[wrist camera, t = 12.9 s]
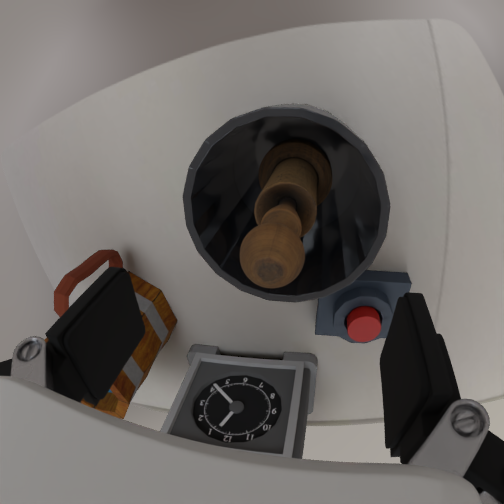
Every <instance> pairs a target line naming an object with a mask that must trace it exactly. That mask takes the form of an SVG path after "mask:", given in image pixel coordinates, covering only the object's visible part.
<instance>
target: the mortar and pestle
mask: <svg viewBox="0 0 504 504" xmlns="http://www.w3.org/2000/svg"><path fill="white" fill-rule="evenodd" d="M259 183H260V187H261V189H262V191H261V193H260V195H259V196H258V198H257V201H256V203H255V209H254V214H255V219H256V222H257V224H258V226H256V227H255V228H253V229H252V230H251V231H250V232H249V233H248V234H247V235H246V236H245V238H244V240H243V242H242V244H241V247H240V263H241V267H242V269H243V271H244V273H245V274H246V276H247V277H248V278H249V279H250V280H251V281H252V282H253V283H255V284H257V285H259V286H261V287H265V288H279V287H283V286H285V285H287V284H289V283H291V282H292V281H293V280H294V279H295V278H296V277H297V276H298V275H299V273H300V272H301V270H302V268H303V265H304V260H305V251H304V246H303V244H302V241H301V239H300V238H301V237H303V236H304V235H306V234H307V233H308V232H309V231H310V230H311V228H312V227H313V225H314V223H315V220H316V214H317V206H318V205H319V204H320V203H322V202H323V201H324V199H325V198H326V197H327V195H328V194H329V192H330V189H331V186H332V169H331V165H330V162H329V160H328V158H327V156H326V155H325V154H324V152H323V151H322V150H321V149H320V148H318V147H317V146H316V145H314V144H312V143H310V142H308V141H304V140H299V139H290V140H286V141H283V142H280V143H278V144H277V145H275V146H274V147H272V148H271V149H270V150H269V151H268V153H267V154H266V155H265V157H264V158H263V160H262V162H261V164H260V168H259Z"/></svg>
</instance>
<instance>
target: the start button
mask: <svg viewBox="0 0 504 504" xmlns="http://www.w3.org/2000/svg"><path fill="white" fill-rule="evenodd" d="M380 331H381V323H380V318H379V314H378V312H377V311H376V310H375V309H374V308H372V307H369V306H361V307H358V308H355V309H354V310H352V311H351V312H350V313H349V315H348V317H347V332H348V335H349V337H350V338H351V339H353V340H355V341H358V342H367V341H370V340H373V339H374V338H376V337H377V336H378V335H379V333H380Z"/></svg>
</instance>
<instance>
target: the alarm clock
mask: <svg viewBox="0 0 504 504" xmlns="http://www.w3.org/2000/svg"><path fill="white" fill-rule="evenodd" d="M187 358H188V361H189V364H190V367H189V370H188V372H187V374H186V376H185V378H184V380H183V382H182V385H181V387H180V389H179V391H178V393H177V395H176V398H175V400H174V402H173V404H172V406H171V409H170V411H169V413H168V415H167V417H166V420H165V422H164V424H163V426H162V428H161V430H160V432H163V433H167V434H170V435H174V436H178V437H181V438H185V439H189V440H193V441H197V442H201V443H206V444H210V445H215V446H219V447H224V448H229V449H235V450H240V451H246V452H251V453H258V454H264V455H271V456H279V457H287V458H297V459H302V455H303V448H304V440H305V432H306V423H307V415H308V414H310V413H312V412H313V404H314V394H315V383H316V371H317V358H316V356H315V355H313V354H311V353H293V352H284V358H283V360H269V359H256V358H244V357H234V356H224V355H220V353H219V348H218V347H215V346H206V345H197V344H195V345H192V347H191V348H190V350H189V352H188V355H187Z"/></svg>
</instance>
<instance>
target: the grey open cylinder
mask: <svg viewBox="0 0 504 504" xmlns="http://www.w3.org/2000/svg"><path fill="white" fill-rule="evenodd" d="M290 139H299V140H304V141H308V142H310V143H312V144H314V145H316V146H317V147H318V148H320V149H321V150H322V151H323V152H324V154H325V155H326V156H327V158H328V160H329V162H330V165H331V169H332V186H331V189H330V192H329V194H328V195H327V197H326V198H325V199H324V201H323V202H322V203H320V204H319V205H318V206H317V214H316V220H315V223H314V225H313V227H312V228H311V230H310V231H309V232H308V233H307V234H306V235H304V236H303V237H301V238H300V239H301V241H302V244H303V246H304V251H305V260H304V265H303V268H302V270H301V272H300V273H299V275H298V276H297V277H296V278H295V279H294V280H293V281H292V282H291V283H289V284H287V285H285V286H283V287H279V288H265V287H261V286H259V285H257V284H255V283H253V282H252V281H251V280H250V279H249V278H248V277H247V276H246V274H245V273H244V271H243V269H242V267H241V263H240V247H241V244H242V242H243V240H244V238H245V236H246V235H247V234H248V233H249V232H250V231H251V230H252V229H253V228H255V227H256V226H258V224H257V222H256V219H255V214H254V209H255V203H256V201H257V198H258V196H259V195H260V193H261V191H262V189H261V187H260V183H259V168H260V164H261V162H262V160H263V158H264V157H265V155H266V154H267V153H268V151H269V150H270V149H271V148H272V147H274V146H275V145H277V144H278V143H280V142H283V141H286V140H290ZM183 203H184V212H185V220H186V226H187V229H188V231H189V233H190V236H191V238H192V240H193V242H194V244H195V247H196V249H197V251H198V252H199V254H200V255H201V256H202V257H203V259H204V260H205V261H206V262H207V263H208V264H209V266H210V267H211V268H212V269H213V270H214V271H215V273H216V274H217V275H219V276H220V277H222V278H223V279H225V280H226V281H228V282H229V283H230V284H232V285H233V286H235V287H236V288H238V289H239V290H241V291H243V292H246V293H249V294H252V295H255V296H257V297H260V298H263V299H266V300H272V301H284V302H302V301H307V300H312V299H318V298H323V297H326V296H328V295H331V294H333V293H335V292H336V291H338V290H340V289H342V288H344V287H346V286H348V285H350V284H352V283H353V282H354V281H355V280H356V279H357V278H358V277H359V276H360V275H361V274H362V273H363V272H364V271H365V270H366V269H367V268H368V267H369V266H370V265H371V264H372V263H373V261H374V259H375V257H376V255H377V253H378V251H379V249H380V247H381V245H382V243H383V242H384V240H385V237H386V233H387V227H388V220H389V213H390V201H389V196H388V191H387V186H386V181H385V177H384V174H383V171H382V169H381V168H380V166H379V164H378V163H377V161H376V159H375V158H374V156H373V155H372V153H371V151H370V150H369V148H368V147H367V145H366V144H365V143H364V141H363V140H361V139H360V138H359V137H358V136H357V135H356V134H355V133H354V132H353V131H352V130H351V129H350V128H349V127H348V126H347V125H345V124H344V123H343V122H341V121H340V120H339V119H338V118H336V117H335V116H334V115H332V114H331V113H329V112H328V111H325V110H322V109H319V108H317V107H314V106H311V105H307V104H281V105H275V106H269V107H264V108H261V109H258V110H255V111H252V112H249V113H246V114H243V115H240V116H237V117H235V118H232V119H230V120H229V121H228V122H226V123H225V124H224V125H223V126H221V127H220V128H219V129H218V130H216V131H215V132H214V133H213V134H212V135H210V136H209V137H208V138H207V139H206V140H205V141H204V143H203V144H202V146H201V147H200V149H199V151H198V152H197V154H196V156H195V157H194V159H193V161H192V162H191V164H190V166H189V169H188V173H187V178H186V183H185V187H184V192H183Z"/></svg>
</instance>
